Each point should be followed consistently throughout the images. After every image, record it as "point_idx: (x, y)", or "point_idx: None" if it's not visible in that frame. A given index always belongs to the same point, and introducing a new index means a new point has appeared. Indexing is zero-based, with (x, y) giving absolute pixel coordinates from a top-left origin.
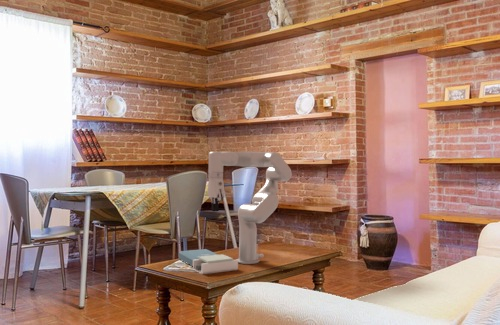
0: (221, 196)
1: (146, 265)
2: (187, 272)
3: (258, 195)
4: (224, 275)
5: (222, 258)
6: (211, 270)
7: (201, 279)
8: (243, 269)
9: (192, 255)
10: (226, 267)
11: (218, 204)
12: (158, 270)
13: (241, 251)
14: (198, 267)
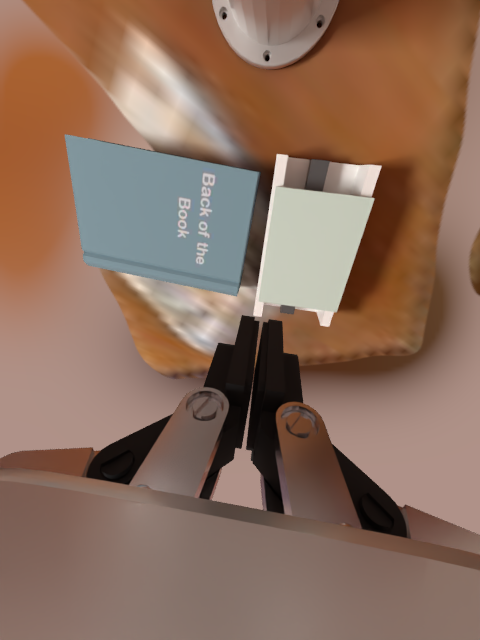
0: (394, 575)
1: (148, 362)
2: None
3: None
4: (386, 264)
5: (340, 240)
6: None
7: (365, 340)
8: (380, 136)
9: (175, 268)
10: None
11: (283, 381)
12: None
13: (279, 19)
14: (293, 311)
